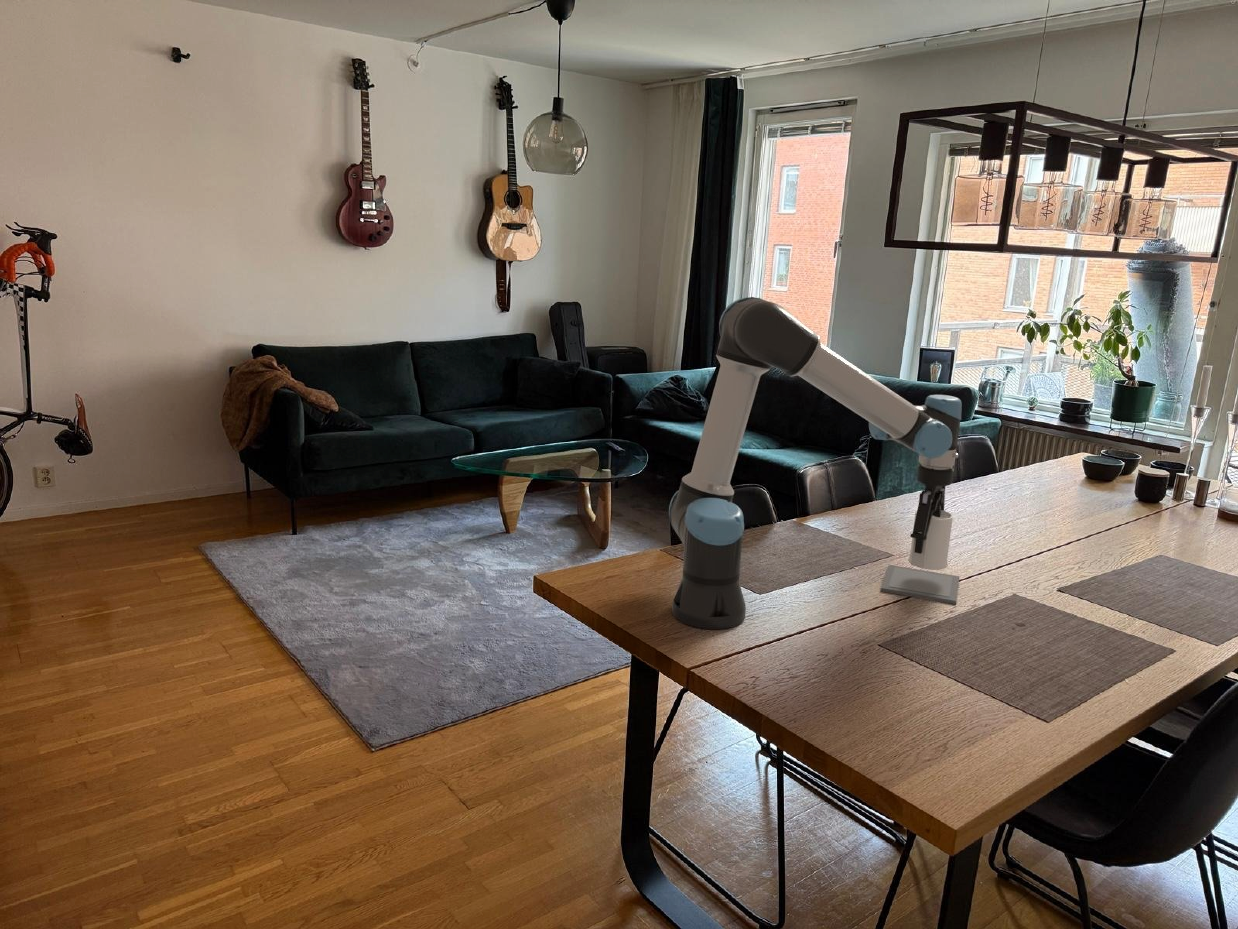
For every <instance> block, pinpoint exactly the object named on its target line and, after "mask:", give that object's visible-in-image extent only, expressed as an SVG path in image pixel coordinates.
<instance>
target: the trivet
mask: <svg viewBox="0 0 1238 929" xmlns="http://www.w3.org/2000/svg"><path fill="white" fill-rule="evenodd" d="M959 582H960V576H959V575H953V574H948V573H941V572H935V571H929V570H925V569H924V570H923V569H917V568H912V567H907V566H899V565H893V564H888V566H887V569H886V572H885V575H884V578H883V581H882V584H881V586H880V592H884V593H890V594H895V595H901V596H905V597H912V598H918V599H922V600H923V599H924V600H928V601H934V602H942V603H946V604H950V605H951V604H952V605H956V604H957V599H958V592H959Z"/></svg>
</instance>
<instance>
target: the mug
mask: <svg viewBox="0 0 1238 929" xmlns="http://www.w3.org/2000/svg"><path fill="white" fill-rule="evenodd" d="M916 514H917V509H916V510H915V512H914V520H913V525H914V524H915V519H916ZM953 517H954V516H953V514H952V513H950V512H948V511H946V510H944V511H943V510H941V515H940V517H935V516H933V515H932V518H931V522H930V526H929V530H928V533H927V538H926V539H928V540H927V548H926V556H925V564H924V567H918V566H915V567H917V568H920V569H922V570H923V569H924V570H928V571H929V570H932V571H939V570H940V571H941V570H944V569H946V568H948V555H949V549H950V542H951V541H950V540H951V535H952V534H951V532H952V527H953V520H954V518H953ZM913 529H914V526H913ZM913 529H912V530H913ZM918 533H921V532H918ZM913 544H914V538H912V537H911V543H910V553H909V556H908V563H909V564H911V560H912V552H913Z"/></svg>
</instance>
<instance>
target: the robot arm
mask: <svg viewBox="0 0 1238 929" xmlns="http://www.w3.org/2000/svg"><path fill="white" fill-rule="evenodd" d="M718 325H719V326H718V328H719V335H720V339H719V343H718V347H717V351H716V355H715V357H716V358H717V360H718V362H719V364H720V367H719V371H718V374H717V377H716V381H715V383H714V384H715V386H714V388H713V392H712V396H711V399H710V403H709V407H708V410H707V414H706V418H705V421H704V424H703V428H702V431H701V435H700V440H699V444H698V447H697V450H696V454H695V457H694V461H693V465H692V469H691V472H689V473H687V474H686V475H684V476H683V477H682V478H681V482H680V486H679V488H678V489H679V490H676V492H675V493H673V494H674V495H673V496H672V497H671V500H670V503H669V506H668V515H669V521H670V525H671V527H672V529H673V530H674V531H675V533H676V534H677V536H678V539H679V540H680V542H682V545H683V559H682V560H683V564H682V577H681V580H680V582H679V584H678V586H677V588H676V592H675V595H674V597H673V600H672V605H671V606H672V607H671V612H672V616H674V618H675V619H676V620H678V621H679V622H680V623H683V624H685V625H687V626H690V627H694V628H699V629H706V630H723V629H731V628H733V627H737V626H738V625H741V624H742V623H743V622H744V620H745V619H746V613H747V612H746V609H747V607H746V602H745V598H744V595H743V591H742V586H741V583H740V578H741V577H740V576H741V575H740V574H741V573H740V572H741V562H742V561H741V560H742V550H743V549H742V548H743V539H744V538H743V537H744V531H745V523H744V514H743V511H742V509H741V508H740V507H739V506H738V505H737V504H735V503H733V498H734V494H735V490H734V489H733V487H732V485H731V480H732V476H733V473H734V471H735V470H734V469H735V466H736V462H737V460H738V456H739V452H740V448H741V445H742V442H743V439H744V438H743V437H744V434H745V431H746V428H747V424H748V420H749V416H750V413H751V410H752V408H753V407H752V406H753V403H754V400H755V397H756V392H757V390H758V385H759V382H760V380H761V376H762V375H763V374H766V373H768V372H769V371H770V369H771V367H773V368H775V369H777V370H779V371H781V372H782V373H784V374H786V375H787V376H789V377H791V378H793V377H796V376H798V377H800V378H801V379H803V380H804V381H806V382H807V383H809V384H810V385H811V386H813V387H815V388H816V389H818V390H820V391H822V392H823V393H824V394H826V395H828V396H829V397H831V398H832V399H834V400H836V402H838V403H839V404H840V405H841V404H842V405H843V406H844V407H845V408H847V409H849V410H851V411H852V412H853V413H854V414H857V415H858V416H860V417H861V418H863V419H865V420H866V421H867V422H868V429H869V432H870V434H871V436H872V438H873V439H874V440H881V441H882V440H883V441H895V442H897V444H898V443H899V444H900V445H902V446H904V447H907V448H908V449H910V450H911V451H913V452H915V453H916V454H918V463H919V464H918V465H917V470H916V471H917V473H916V480H917V481H918V482H919V483H920V484H923V485H924V490H922V491H921V492H920V494H918V495H919V496H918V498H919V499H918V505H917V508H916V510H917V514H916V519H915V518H914V519H915V524H914V523H913V527H914V529H912V533H910V538H911V539H912V538H914V544H913V552H912V560H911V563H910V566H914V567H916V566H918V567H917V568H919V567H924V564H925V556H926V548H927V540H928V539H926V538H927V533H928V530H929V526H930V522H931V518H932V515H933V516H935V517H940V515H941V510H943V511H945V499H946V498H945V497H946V488H947V487H948V486H951V485H952V483H953V479H954V466H955V462H956V459H958V458H959V453H957V446H958V440H959V435H960V434H959V433H960V432H959V431H960V427H961V426H960V425H961V421H962V411H963V410H962V407H963V404H962V400H961V399H960V398H959V397H956V396H952V395H946V394H930V395H928V396H926V398H925V401H924V404H920V405H917V404H915V405H914V404H913V403H911V402H909V401H908V400H906V399H905V398H904V397H902V396H900V395H899V394H897V393H896V392H895V391H893V390H891V389H890V388H889V387H888V386H885V385H884V384H882V383H881V382H880V381H878V380H877V379H875V378H873V377H872V376H871V375H869V374H868V373H866V372H865V371H863V370H862V369H860V368H859V367H857V366H856V365H854V364H853V363H851V362H850V361H848V360H847V359H845V358H844V357H842V356H841V355H839V354H838V353H837V352H835V351H833V350H832V349H830V348H829V347H827V346H826V345H824V344H823V343H821V338H820V335H819V334H818V333H816V332H815V331H813V330H812V329H810V328H809V327H808V326H806V325H805V324H804V323H803V322H801V320H798V318H797V317H795V316H794V315H793V314H792V313H791V312H790V311H788V310H787V309H786V308H784V307H783V306H782V305H779V304H778V303H776V302H772V301H768V300H765V299H762V298H761V297H754V296H750V297H742V298H738V299H737V300H734V301H733V302H731V303H730V304H729V305H728V306H727V307H726V308H725V309H724V311H723V312H722V314H721V316H720V319H719V324H718ZM918 532H921V533H918Z"/></svg>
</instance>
